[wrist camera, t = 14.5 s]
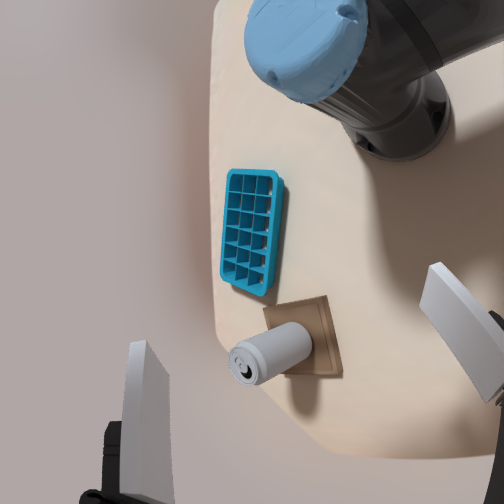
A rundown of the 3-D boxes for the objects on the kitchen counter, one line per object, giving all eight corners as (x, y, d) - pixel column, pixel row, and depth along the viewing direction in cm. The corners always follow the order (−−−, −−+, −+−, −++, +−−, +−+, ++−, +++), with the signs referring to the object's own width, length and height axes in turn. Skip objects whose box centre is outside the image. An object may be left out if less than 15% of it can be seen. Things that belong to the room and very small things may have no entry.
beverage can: (299, 365, 45) (245, 396, 37) (276, 335, 48) (219, 359, 40) (322, 344, 42) (267, 376, 33) (296, 312, 45) (237, 335, 37)
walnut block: (268, 306, 51) (262, 308, 50) (326, 295, 43) (320, 297, 42) (284, 370, 50) (278, 374, 49) (343, 370, 41) (337, 374, 40)
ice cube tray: (290, 172, 46) (278, 170, 44) (277, 295, 50) (265, 299, 48) (240, 170, 53) (227, 168, 51) (231, 276, 58) (219, 278, 56)
